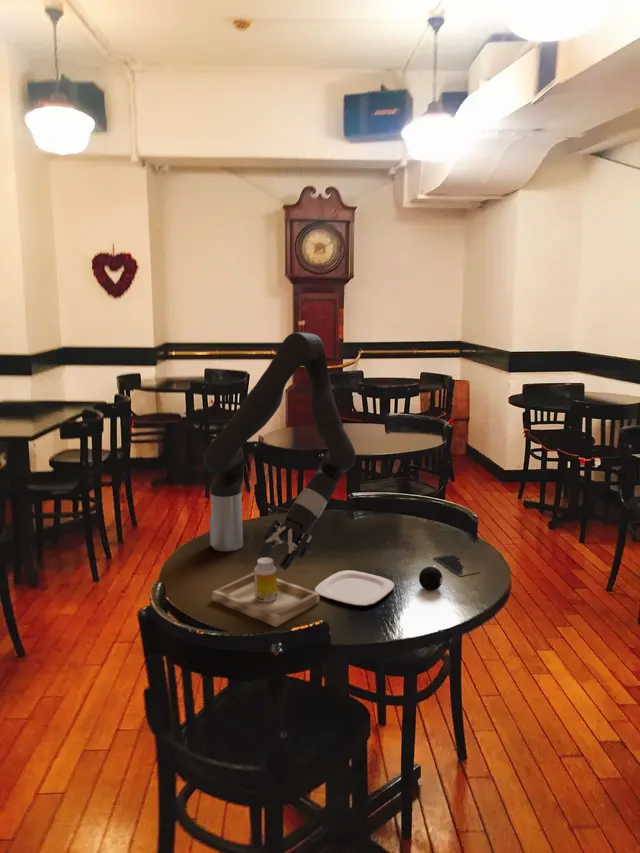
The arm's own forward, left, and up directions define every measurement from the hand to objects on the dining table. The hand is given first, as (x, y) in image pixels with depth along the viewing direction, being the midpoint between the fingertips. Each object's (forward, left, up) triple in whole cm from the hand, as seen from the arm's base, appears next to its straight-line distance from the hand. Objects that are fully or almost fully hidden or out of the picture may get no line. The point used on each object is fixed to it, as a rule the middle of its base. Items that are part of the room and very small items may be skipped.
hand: (271, 562), depth 170 cm
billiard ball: (+29, +30, -10) cm, 42 cm away
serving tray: (0, -2, -10) cm, 10 cm away
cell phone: (+27, +48, -10) cm, 56 cm away
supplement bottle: (0, -2, -9) cm, 9 cm away
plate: (+14, +17, -10) cm, 24 cm away
